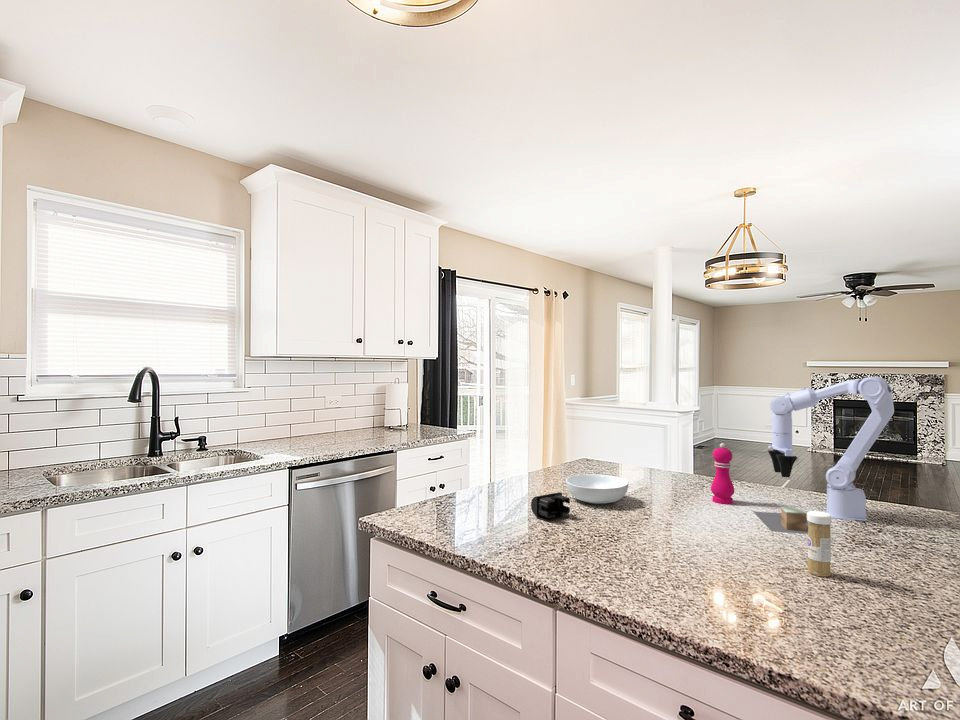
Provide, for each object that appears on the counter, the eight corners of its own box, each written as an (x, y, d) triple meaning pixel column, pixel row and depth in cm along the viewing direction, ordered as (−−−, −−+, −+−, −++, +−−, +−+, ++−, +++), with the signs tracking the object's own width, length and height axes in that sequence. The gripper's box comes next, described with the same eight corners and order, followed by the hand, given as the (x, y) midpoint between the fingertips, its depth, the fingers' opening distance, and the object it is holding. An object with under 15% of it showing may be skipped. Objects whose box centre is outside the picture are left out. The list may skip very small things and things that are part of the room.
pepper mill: (737, 506, 172) (737, 445, 172) (713, 504, 174) (713, 444, 174) (731, 500, 179) (731, 441, 180) (708, 499, 181) (708, 441, 181)
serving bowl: (554, 496, 184) (554, 477, 184) (602, 490, 193) (602, 472, 193) (590, 512, 165) (590, 490, 165) (642, 504, 174) (642, 484, 174)
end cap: (555, 511, 166) (555, 490, 166) (570, 517, 160) (571, 495, 160) (530, 516, 160) (530, 494, 160) (545, 522, 154) (545, 499, 154)
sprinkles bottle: (802, 569, 119) (802, 510, 119) (821, 569, 120) (821, 510, 120) (817, 578, 115) (817, 516, 115) (836, 577, 115) (836, 515, 115)
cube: (806, 513, 146) (806, 531, 146) (800, 508, 151) (800, 525, 151) (786, 511, 147) (786, 529, 147) (781, 507, 152) (781, 524, 152)
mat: (802, 515, 162) (802, 514, 162) (828, 536, 142) (828, 535, 142) (752, 512, 165) (753, 511, 165) (771, 532, 146) (771, 531, 146)
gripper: (762, 429, 180) (762, 469, 180) (775, 435, 166) (775, 478, 166) (785, 430, 179) (785, 470, 179) (800, 436, 165) (800, 479, 164)
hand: (782, 474), depth 172 cm, fingers open, 7 cm apart
